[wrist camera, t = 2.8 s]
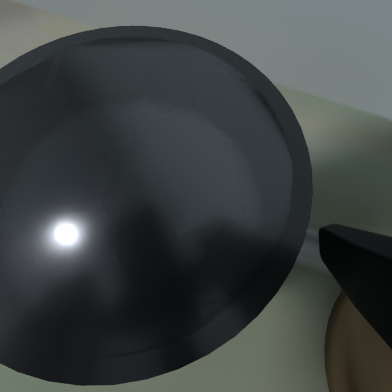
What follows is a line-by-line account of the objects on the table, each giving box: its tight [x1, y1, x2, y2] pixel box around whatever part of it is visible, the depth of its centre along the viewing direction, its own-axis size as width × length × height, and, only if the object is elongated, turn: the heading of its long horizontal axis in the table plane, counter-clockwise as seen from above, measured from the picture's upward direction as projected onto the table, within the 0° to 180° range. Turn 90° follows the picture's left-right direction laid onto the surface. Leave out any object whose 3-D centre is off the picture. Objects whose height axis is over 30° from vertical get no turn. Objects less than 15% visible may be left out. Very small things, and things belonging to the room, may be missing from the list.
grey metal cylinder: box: [0, 26, 313, 385], centre depth 11 cm, size 7×7×13 cm
